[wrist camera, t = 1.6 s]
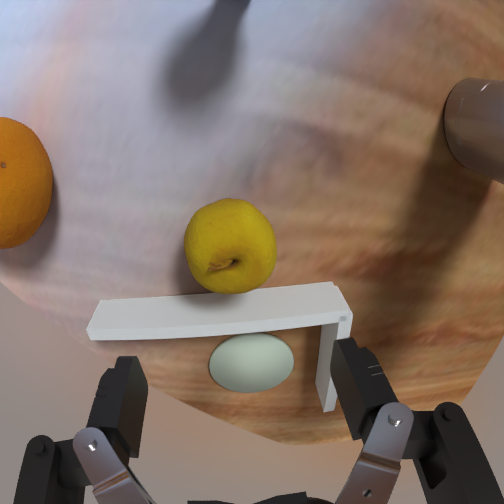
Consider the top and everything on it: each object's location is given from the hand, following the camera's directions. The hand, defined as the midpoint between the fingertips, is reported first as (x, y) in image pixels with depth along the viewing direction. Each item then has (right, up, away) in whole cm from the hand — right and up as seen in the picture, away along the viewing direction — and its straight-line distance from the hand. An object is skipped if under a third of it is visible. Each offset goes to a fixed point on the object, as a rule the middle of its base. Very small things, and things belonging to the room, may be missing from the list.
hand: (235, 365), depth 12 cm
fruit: (-20, +12, +10) cm, 25 cm away
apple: (-1, +7, +14) cm, 15 cm away
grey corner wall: (-2, -6, +20) cm, 21 cm away
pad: (+1, -7, +21) cm, 22 cm away
